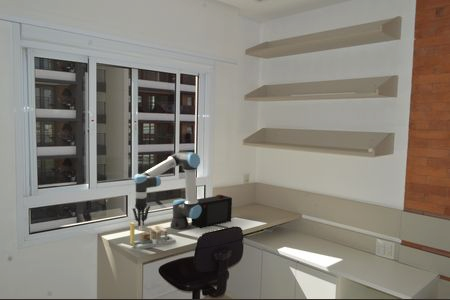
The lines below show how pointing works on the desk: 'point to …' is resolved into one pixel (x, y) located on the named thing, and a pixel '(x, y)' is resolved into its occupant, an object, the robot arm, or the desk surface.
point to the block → (145, 236)
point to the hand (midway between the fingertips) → (140, 230)
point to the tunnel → (157, 232)
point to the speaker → (213, 211)
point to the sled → (132, 227)
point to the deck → (160, 241)
